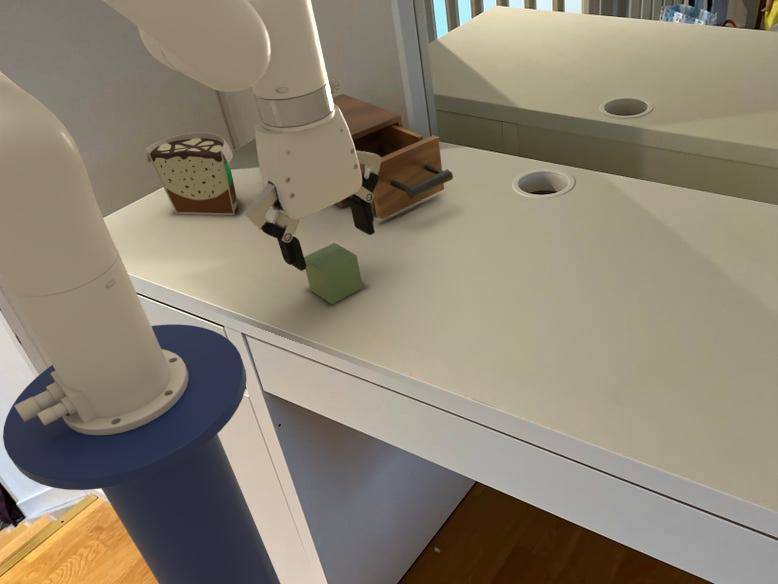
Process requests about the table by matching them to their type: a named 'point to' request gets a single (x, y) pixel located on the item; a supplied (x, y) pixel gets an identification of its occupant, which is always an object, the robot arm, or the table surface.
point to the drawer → (403, 168)
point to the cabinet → (364, 120)
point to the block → (333, 273)
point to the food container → (195, 173)
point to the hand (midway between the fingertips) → (332, 247)
